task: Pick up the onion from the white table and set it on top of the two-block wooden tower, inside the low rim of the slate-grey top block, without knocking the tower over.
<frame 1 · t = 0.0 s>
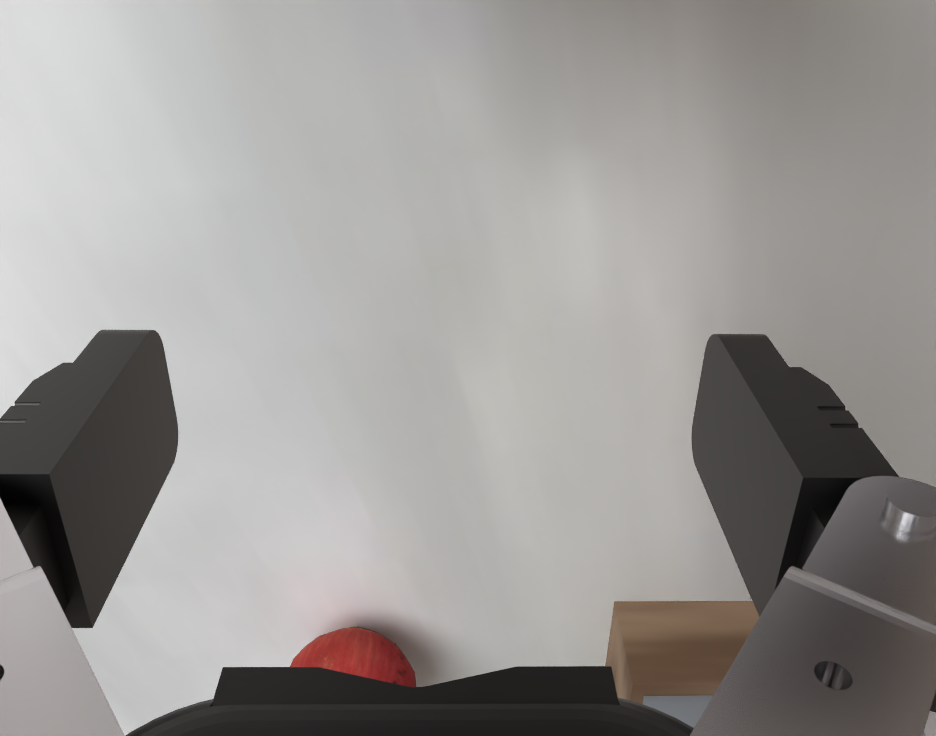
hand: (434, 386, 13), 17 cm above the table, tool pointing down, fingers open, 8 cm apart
bottom block: (719, 680, 43), on the table, touching top block
onion: (358, 628, 40), on the table
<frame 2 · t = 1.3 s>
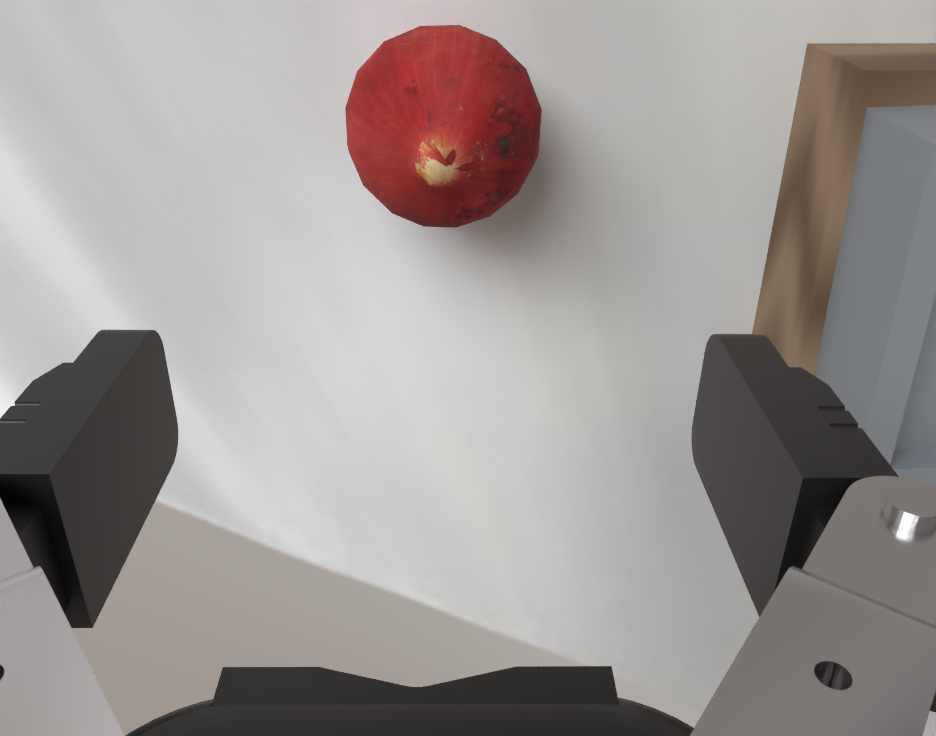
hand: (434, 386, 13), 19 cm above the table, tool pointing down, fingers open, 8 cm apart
bottom block: (932, 213, 31), on the table, touching top block
onion: (445, 99, 29), on the table
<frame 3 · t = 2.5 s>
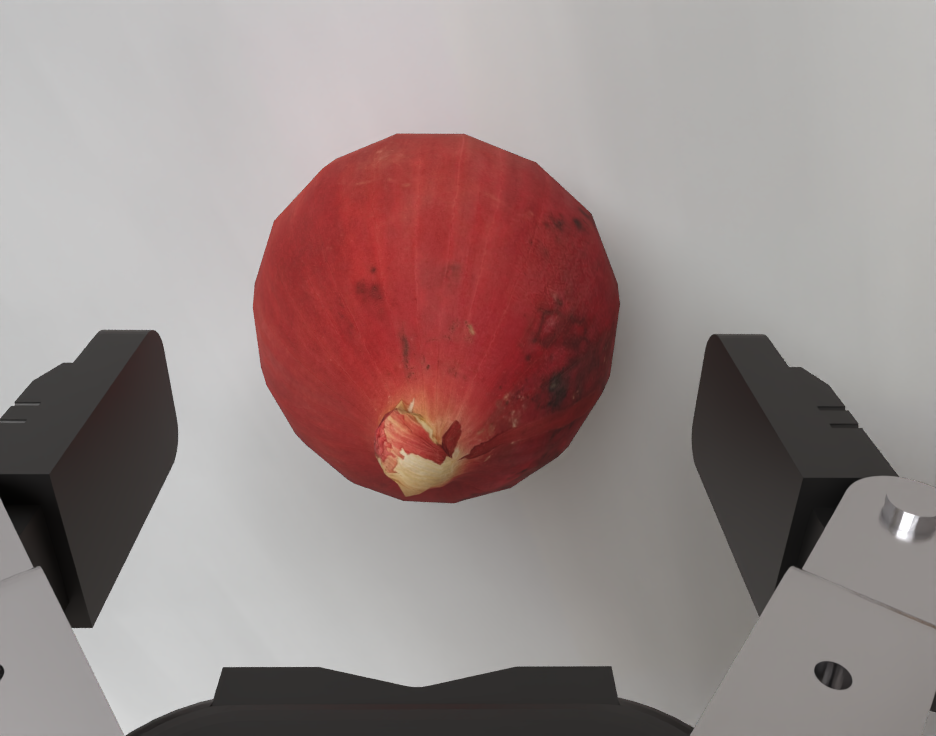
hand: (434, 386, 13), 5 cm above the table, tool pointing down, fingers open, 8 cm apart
onion: (441, 231, 17), on the table
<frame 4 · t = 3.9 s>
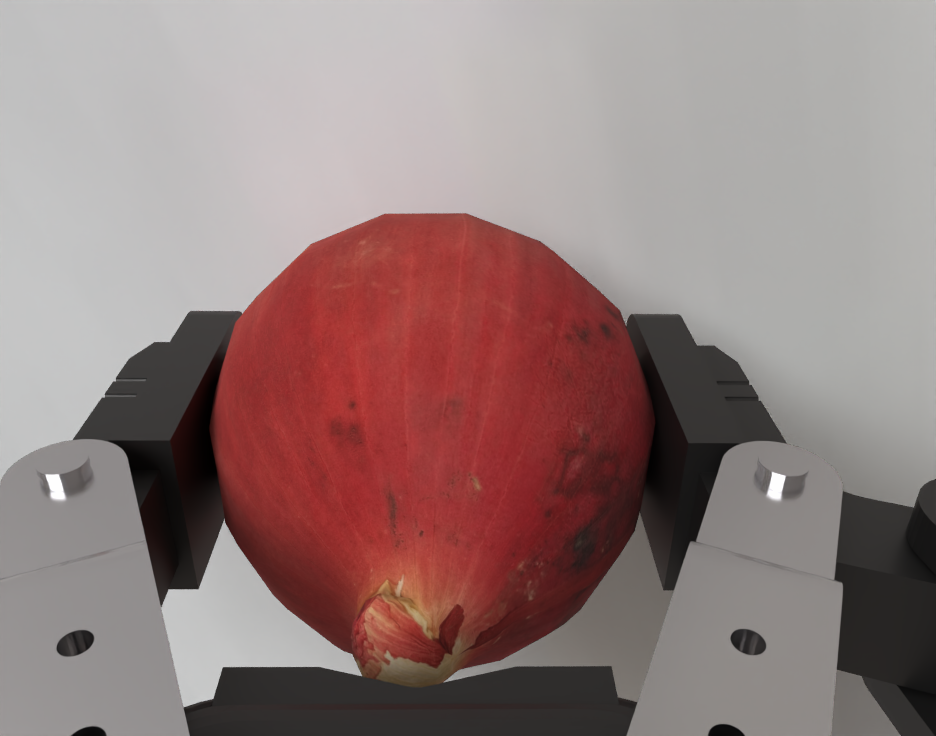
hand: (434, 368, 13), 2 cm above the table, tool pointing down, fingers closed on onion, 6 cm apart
onion: (439, 307, 15), on the table, touching gripper
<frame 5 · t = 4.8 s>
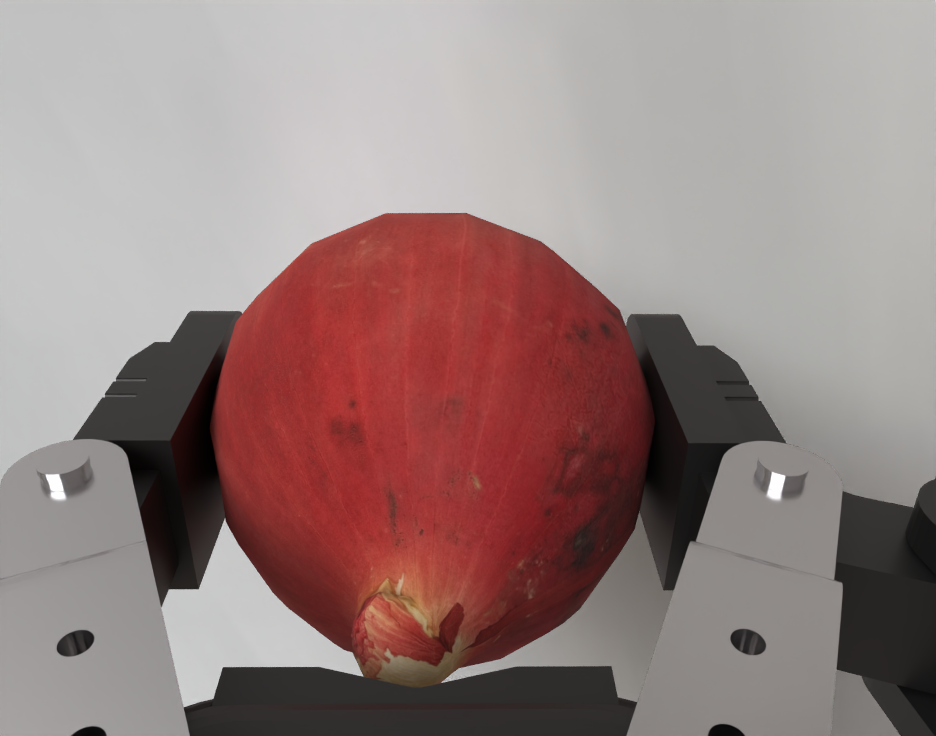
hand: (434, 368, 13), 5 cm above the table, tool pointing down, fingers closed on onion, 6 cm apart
onion: (439, 307, 15), point 3 cm above the table, touching gripper
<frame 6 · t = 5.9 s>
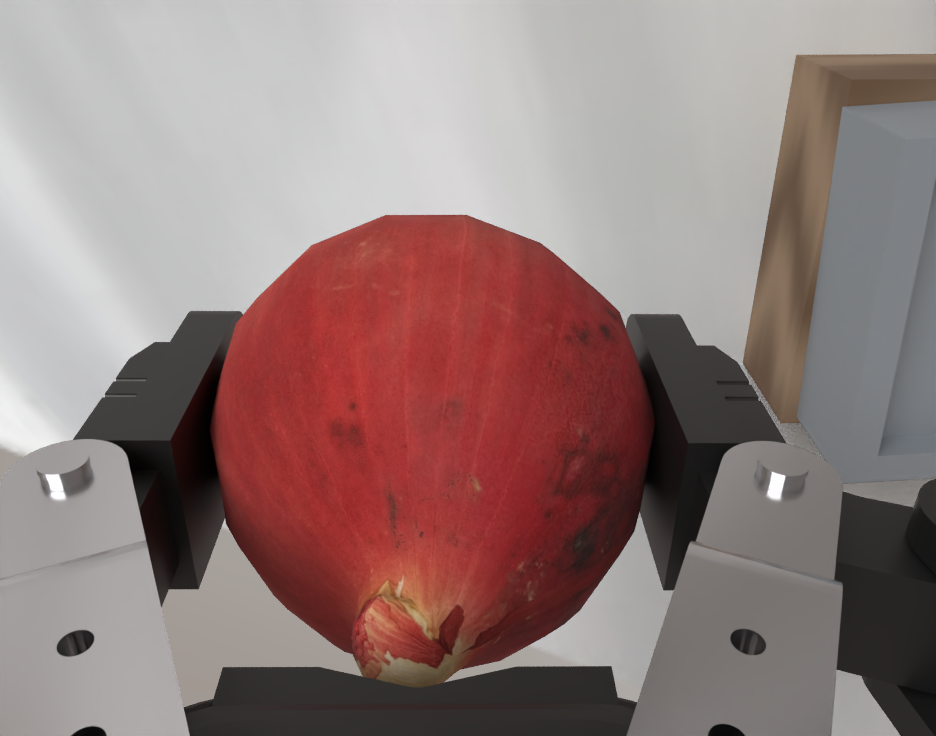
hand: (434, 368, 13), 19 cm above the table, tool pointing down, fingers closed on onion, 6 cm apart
bottom block: (920, 217, 32), on the table, touching top block
onion: (439, 308, 15), point 17 cm above the table, touching gripper
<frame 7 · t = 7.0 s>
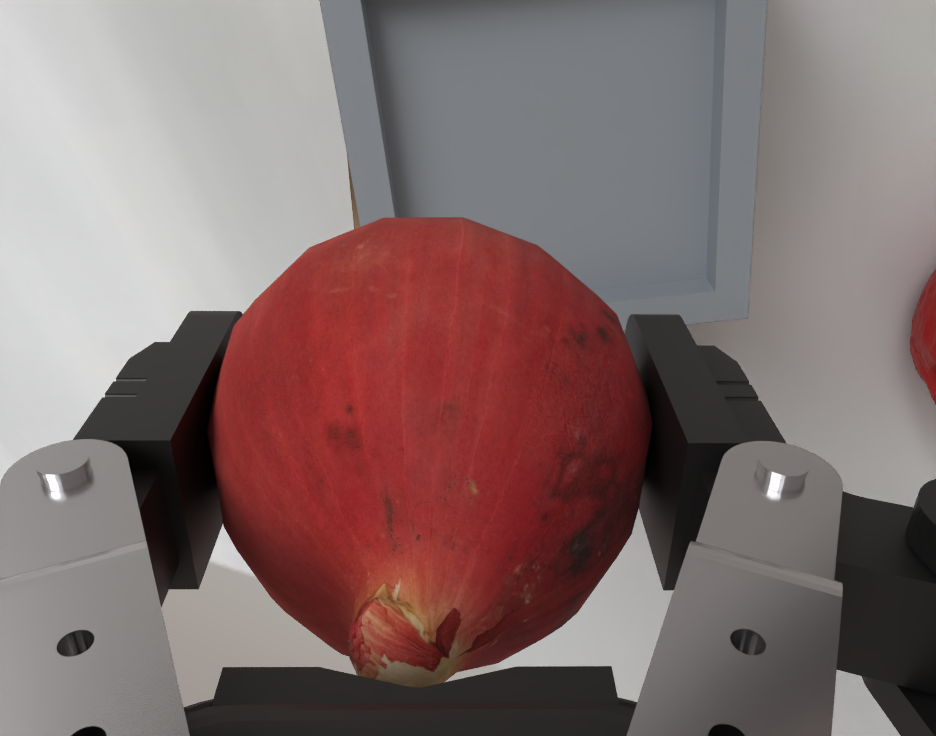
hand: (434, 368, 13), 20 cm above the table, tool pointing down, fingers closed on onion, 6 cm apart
onion: (437, 310, 15), point 18 cm above the table, touching gripper
top block: (540, 121, 26), point 5 cm above the table
when the fingers open (11 cm above the table, at t = 9.7 s): onion drops 2 cm, resting on top block.
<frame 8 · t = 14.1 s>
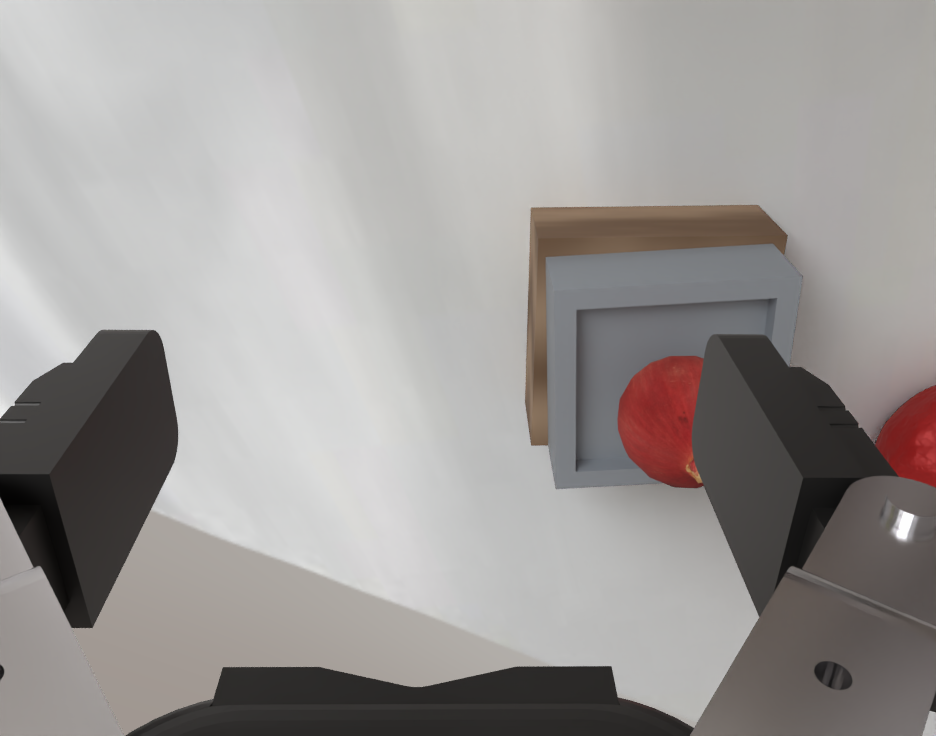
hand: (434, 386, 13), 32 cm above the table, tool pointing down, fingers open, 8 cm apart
bottom block: (633, 306, 48), on the table, touching top block
onion: (665, 377, 41), point 7 cm above the table, touching top block
top block: (653, 350, 44), point 5 cm above the table, touching bottom block, onion
pomegranate: (934, 429, 52), on the table
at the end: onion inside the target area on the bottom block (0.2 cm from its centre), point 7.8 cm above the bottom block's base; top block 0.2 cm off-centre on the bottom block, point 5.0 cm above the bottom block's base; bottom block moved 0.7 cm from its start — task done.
